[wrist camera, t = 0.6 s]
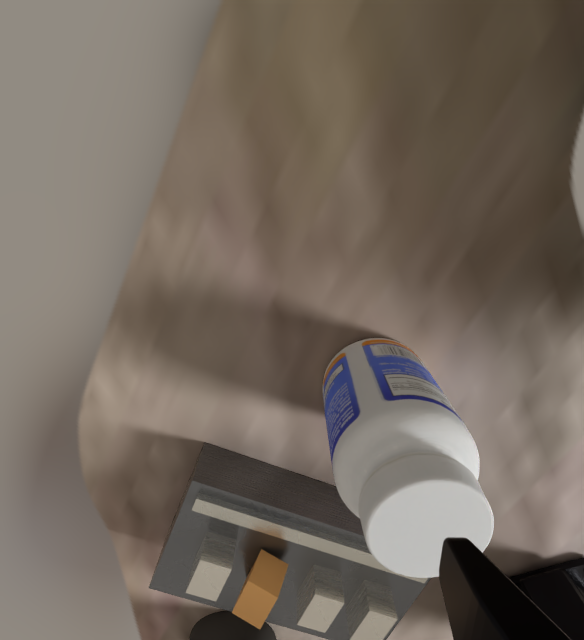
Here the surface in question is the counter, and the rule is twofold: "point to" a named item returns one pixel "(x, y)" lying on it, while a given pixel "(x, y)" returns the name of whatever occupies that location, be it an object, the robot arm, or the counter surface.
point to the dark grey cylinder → (229, 628)
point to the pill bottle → (402, 457)
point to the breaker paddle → (260, 589)
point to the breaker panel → (280, 550)
